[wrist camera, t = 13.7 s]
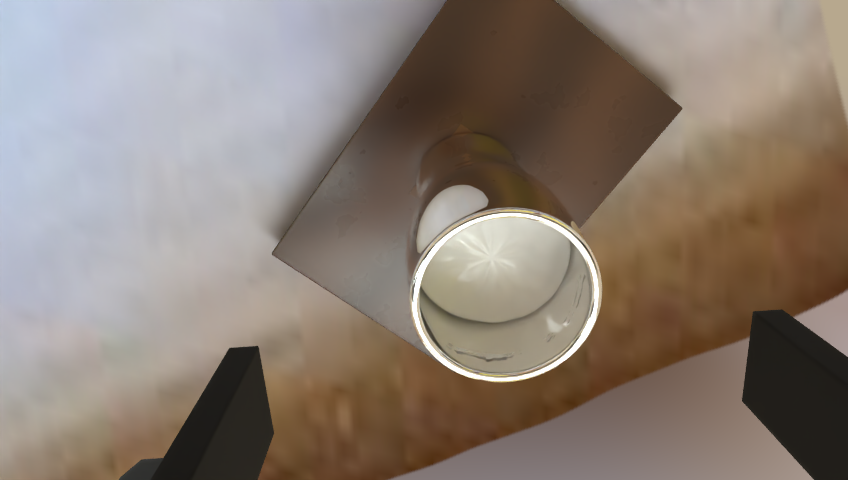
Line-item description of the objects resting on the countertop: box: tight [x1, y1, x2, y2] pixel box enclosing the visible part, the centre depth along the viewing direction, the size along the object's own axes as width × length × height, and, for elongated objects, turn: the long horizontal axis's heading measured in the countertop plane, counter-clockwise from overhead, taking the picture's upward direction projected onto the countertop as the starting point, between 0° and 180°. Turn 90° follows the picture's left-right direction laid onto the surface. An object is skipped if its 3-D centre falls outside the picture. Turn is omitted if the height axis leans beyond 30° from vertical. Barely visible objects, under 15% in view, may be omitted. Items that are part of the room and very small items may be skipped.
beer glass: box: [405, 133, 602, 382], centre depth 27 cm, size 7×7×15 cm
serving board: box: [272, 0, 682, 373], centre depth 35 cm, size 14×21×2 cm, turn 144°
